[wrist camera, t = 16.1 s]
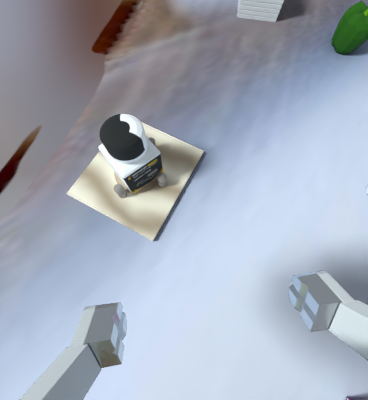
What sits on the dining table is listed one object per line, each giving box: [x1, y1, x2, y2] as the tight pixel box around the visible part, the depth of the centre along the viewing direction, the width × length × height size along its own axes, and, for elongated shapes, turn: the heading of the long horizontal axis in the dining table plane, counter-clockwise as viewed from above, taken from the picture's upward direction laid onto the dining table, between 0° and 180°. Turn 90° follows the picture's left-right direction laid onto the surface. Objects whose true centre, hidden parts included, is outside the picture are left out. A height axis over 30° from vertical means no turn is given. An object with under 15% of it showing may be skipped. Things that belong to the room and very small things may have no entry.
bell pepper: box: [332, 1, 368, 54], centre depth 48 cm, size 8×8×10 cm
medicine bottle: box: [99, 114, 163, 194], centre depth 32 cm, size 7×7×12 cm
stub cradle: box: [67, 122, 204, 241], centre depth 37 cm, size 20×18×4 cm
